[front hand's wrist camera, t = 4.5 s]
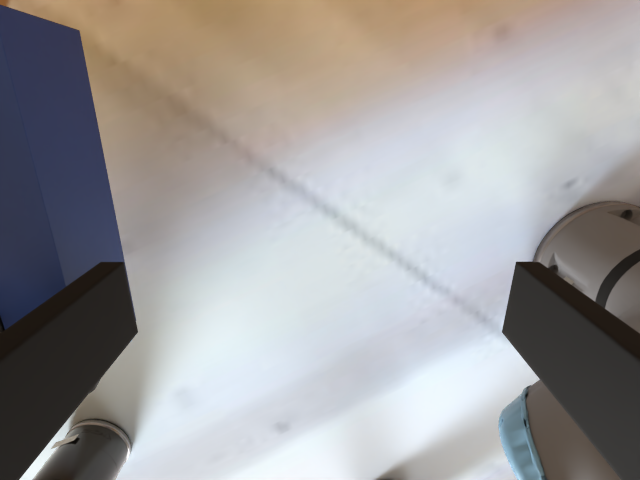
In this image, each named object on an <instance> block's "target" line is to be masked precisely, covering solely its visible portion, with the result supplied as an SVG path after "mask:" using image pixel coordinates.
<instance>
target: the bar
mask: <svg viewBox="0 0 640 480" xmlns="http://www.w3.org/2000/svg"><path fill="white" fill-rule="evenodd" d="M100 262H124V256H123V251H122V246H121V241H120V236H119V231H118V226H117V221H116V216H115V210H114V205H113V200H112V195H111V190H110V185H109V180H108V175H107V169H106V164H105V159H104V154H103V149H102V144H101V139H100V134H99V129H98V123H97V118H96V113H95V108H94V103H93V98H92V93H91V88H90V82H89V77H88V72H87V67H86V62H85V57H84V52H83V47H82V42H81V36H80V31H79V30H76V29H73V28H70V27H67V26H64V25H61V24H58V23H55V22H52V21H49V20H46V19H42V18H39V17H36V16H33V15H30V14H27V13H24V12H21V11H18V10H15V9H12V8H9V7H6V6H3V5H0V316H1V319H2V322H3V325H4V328H5V330H6V329H7V328H9V327H10V326H11V325H13V324H14V323H16V322H17V321H18V320H20V319H21V318H23V317H24V316H25V315H27V314H28V313H30V312H31V311H32V310H34V309H35V308H37V307H38V306H39V305H41V304H42V303H44V302H45V301H47V300H48V299H49V298H51V297H52V296H54V295H55V294H56V293H58V292H59V291H61V290H62V289H63V288H65V287H66V286H68V285H69V284H70V283H72V282H73V281H75V280H76V279H77V278H79V277H80V276H82V275H83V274H85V273H86V272H87V271H89V270H90V269H92V268H93V267H94V266H96V265H97V264H99V263H100ZM124 265H125V262H124ZM125 270H126V267H125ZM126 275H127V272H126ZM127 280H128V277H127ZM128 285H129V282H128ZM129 290H130V287H129ZM130 295H131V292H130ZM131 300H132V297H131ZM132 305H133V302H132ZM133 310H134V308H133ZM134 315H135V313H134ZM135 320H136V318H135Z"/></svg>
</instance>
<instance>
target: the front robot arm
mask: <svg viewBox="0 0 640 480" xmlns="http://www.w3.org/2000/svg"><path fill="white" fill-rule="evenodd" d="M137 333H138V330H137V325H136V320H135V315H134V310H133V305H132V300H131V295H130V290H129V285H128V280H127V275H126V270H125V265H124V262H100V263H99V264H97V265H96V266H94V267H93V268H92V269H90V270H89V271H87V272H86V273H85V274H83V275H82V276H80V277H79V278H77V279H76V280H75V281H73V282H72V283H70V284H69V285H68V286H66V287H65V288H63V289H62V290H61V291H59V292H58V293H56V294H55V295H54V296H52V297H51V298H49V299H48V300H47V301H45V302H44V303H42V304H41V305H39V306H38V307H37V308H35V309H34V310H32V311H31V312H30V313H28V314H27V315H25V316H24V317H23V318H21V319H20V320H18V321H17V322H16V323H14V324H13V325H11V326H10V327H9V328H7V329H6V330H4V331H3V332H2V333H0V480H19V479H20V478H21V477H22V475H23V474H24V473H25V472H26V470H27V469H28V468H29V467H30V465H31V464H32V463H33V462H34V460H35V459H36V458H37V457H38V456H39V454H40V453H41V452H42V451H43V449H44V448H45V447H46V446H47V444H48V443H49V442H50V441H51V439H52V438H53V437H54V436H55V434H56V433H57V432H58V431H59V429H60V428H61V427H62V426H63V424H64V423H65V422H66V421H67V420H68V418H69V417H70V416H71V415H72V413H73V412H74V411H75V410H76V408H77V407H78V406H79V405H80V403H81V402H82V401H83V400H84V398H85V397H86V396H87V395H88V393H89V392H90V391H91V390H92V388H93V387H94V386H95V385H96V384H97V382H98V381H99V380H100V379H101V377H102V376H103V375H104V374H105V372H106V371H107V370H108V369H109V367H110V366H111V365H112V364H113V362H114V361H115V360H116V359H117V357H118V356H119V355H120V354H121V352H122V351H123V350H124V349H125V348H126V346H127V345H128V344H129V343H130V341H131V340H132V339H133V338H134V336H135V335H136V334H137ZM502 333H503V334H504V335H505V336H506V338H507V339H508V340H509V341H510V343H511V344H512V345H513V346H514V348H515V349H516V350H517V351H518V352H519V354H520V355H521V356H522V357H523V359H524V360H525V361H526V362H527V364H528V365H529V366H530V367H531V369H532V370H533V371H534V372H535V374H536V375H537V376H538V377H539V379H540V380H539V381H537V382H536V383H535V384H533V385H532V386H531V385H530V386H528V387H526V388H525V389H524V390H523V392H522V394H521V395H520V396H518V397H517V398H516V399H515V400H514V401H513V402H512V403H510V404H509V405H508V406H507V407H506V408H505V409H504V410H503V411H502V413H501V415H500V418H499V433H500V439H501V443H502V446H503V449H504V451H505V454H506V457H507V459H508V461H509V464H510V466H511V468H512V470H513V472H514V474H515V476H516V478H517V480H640V207H638V206H635V205H632V204H628V203H624V202H615V201H609V202H599V203H595V204H591V205H588V206H585V207H582V208H580V209H578V210H576V211H574V212H572V213H570V214H569V215H567V216H566V217H564V218H563V219H562V220H560V221H559V222H558V223H557V224H556V225H555V226H554V227H553V228H552V229H551V230H550V231H549V232H548V233H547V234H546V236H545V237H544V238H543V240H542V241H541V243H540V245H539V247H538V249H537V251H536V253H535V256H534V260H533V262H516V265H515V270H514V275H513V280H512V285H511V290H510V295H509V300H508V305H507V310H506V315H505V320H504V325H503V330H502Z"/></svg>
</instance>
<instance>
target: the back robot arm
mask: <svg viewBox="0 0 640 480" xmlns="http://www.w3.org/2000/svg"><path fill="white" fill-rule="evenodd" d="M4 330H5V328H4V325H3V322H2V319H1V316H0V333H2V332H3V331H4ZM99 381H100V380H99ZM99 381H98V382H97V384H98V383H99ZM97 384H96V385H95V386H94V387H93V388H92V390H91V391H90V392H92V391H93V390H94V389H95V388H96V386H97ZM90 392H89V393H90ZM89 393H88V394H89ZM55 447H57V449H56V450H55V451H54V452H53V454H52V455H51V456H50V457H49V459H48V460H47V461H46V463H45V464H44V465H43V467H42V468H41V469H40V471H39V472H38V473H37V474H36V476H35V477H34V478H33V480H115V479H116V477H117V475H118V474H119V472H120V470H121V468H122V466H123V465H124V463H125V462H126V460H127V459H128V457H129V455H130V453H131V443H130V440H129V438H128V436H127V435H126V434H125V433H124V432H123V431H122V430H121V429H120V428H118V427H117V426H115V425H113V424H111V423H109V422H106V421H102V420H85V421H82V422H79V423H77V424H75V425H74V426H73V427H72V428H71V429H70V431H69V432H68V433H67V435H66V437H65V438H64V440H62V441H59V442H56V443H55V444H54V446H53V447H52V448H55ZM52 448H51V449H52Z"/></svg>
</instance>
